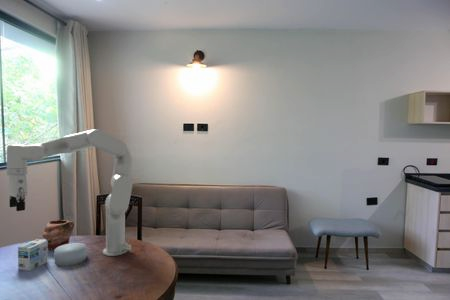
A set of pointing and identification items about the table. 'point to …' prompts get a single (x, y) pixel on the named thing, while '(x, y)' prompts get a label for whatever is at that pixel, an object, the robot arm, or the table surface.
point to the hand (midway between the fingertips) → (17, 208)
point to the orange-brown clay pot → (58, 233)
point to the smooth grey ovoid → (70, 254)
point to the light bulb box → (32, 254)
